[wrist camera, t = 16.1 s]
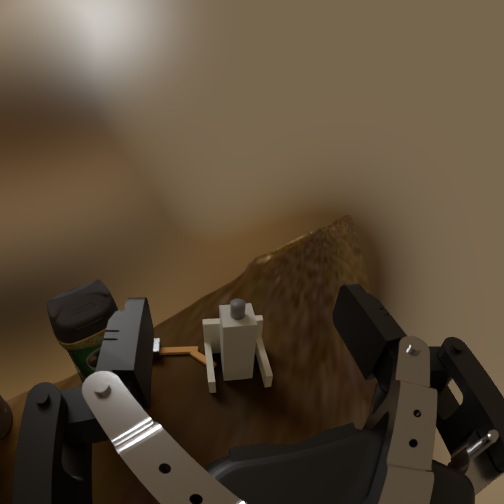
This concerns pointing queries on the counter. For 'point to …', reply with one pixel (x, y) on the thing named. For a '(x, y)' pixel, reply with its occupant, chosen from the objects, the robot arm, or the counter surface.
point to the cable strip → (186, 350)
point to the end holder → (213, 346)
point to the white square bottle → (237, 339)
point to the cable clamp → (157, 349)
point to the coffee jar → (82, 323)
